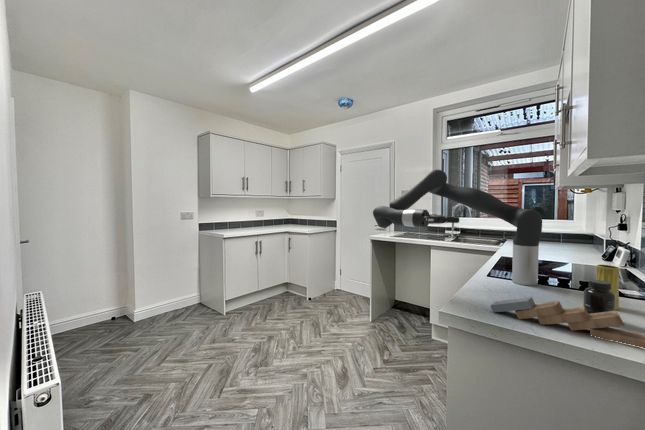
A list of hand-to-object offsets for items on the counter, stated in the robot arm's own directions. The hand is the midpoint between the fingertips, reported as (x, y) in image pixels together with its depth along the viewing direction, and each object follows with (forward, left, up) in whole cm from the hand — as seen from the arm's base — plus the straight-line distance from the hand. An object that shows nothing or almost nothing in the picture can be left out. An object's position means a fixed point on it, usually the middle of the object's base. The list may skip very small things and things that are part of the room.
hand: (458, 220), depth 102 cm
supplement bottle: (-10, +38, -30) cm, 50 cm away
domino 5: (+3, +36, -29) cm, 47 cm away
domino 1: (+4, +13, -29) cm, 32 cm away
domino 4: (+4, +32, -29) cm, 43 cm away
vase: (-26, +40, -30) cm, 56 cm away
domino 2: (+4, +20, -29) cm, 35 cm away
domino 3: (+4, +25, -29) cm, 39 cm away
